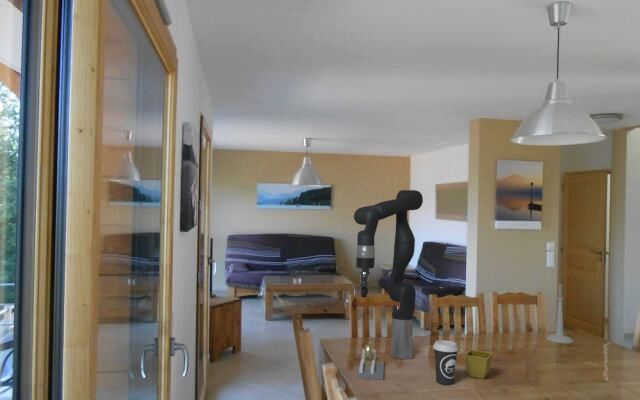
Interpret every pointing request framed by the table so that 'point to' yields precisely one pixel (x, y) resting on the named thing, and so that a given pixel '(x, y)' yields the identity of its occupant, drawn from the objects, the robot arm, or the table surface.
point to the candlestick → (559, 322)
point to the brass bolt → (368, 354)
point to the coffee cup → (445, 361)
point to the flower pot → (478, 363)
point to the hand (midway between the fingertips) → (364, 295)
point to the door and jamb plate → (371, 367)
